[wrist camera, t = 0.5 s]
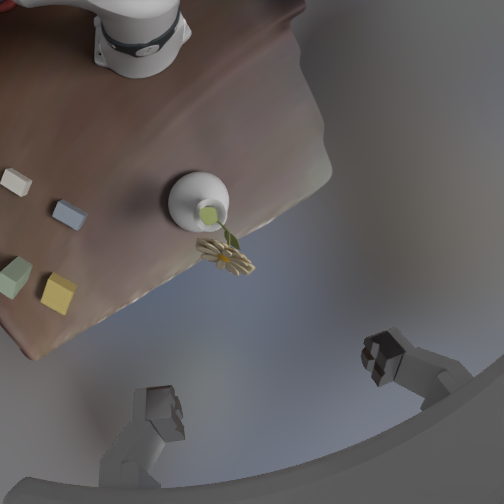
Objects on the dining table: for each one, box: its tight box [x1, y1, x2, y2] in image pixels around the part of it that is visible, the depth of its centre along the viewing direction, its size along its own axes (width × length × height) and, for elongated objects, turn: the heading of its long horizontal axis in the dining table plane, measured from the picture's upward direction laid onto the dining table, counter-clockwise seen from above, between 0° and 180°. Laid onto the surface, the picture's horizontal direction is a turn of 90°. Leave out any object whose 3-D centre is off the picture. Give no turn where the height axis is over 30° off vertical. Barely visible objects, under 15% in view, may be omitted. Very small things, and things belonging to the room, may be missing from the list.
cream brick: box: [0, 168, 32, 197], centre depth 40 cm, size 6×3×3 cm, turn 55°
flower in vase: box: [168, 172, 255, 276], centre depth 44 cm, size 13×11×25 cm
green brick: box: [0, 256, 32, 299], centre depth 42 cm, size 4×4×9 cm
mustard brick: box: [41, 272, 77, 316], centre depth 49 cm, size 6×6×4 cm
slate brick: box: [52, 199, 88, 231], centre depth 46 cm, size 6×3×3 cm, turn 56°
